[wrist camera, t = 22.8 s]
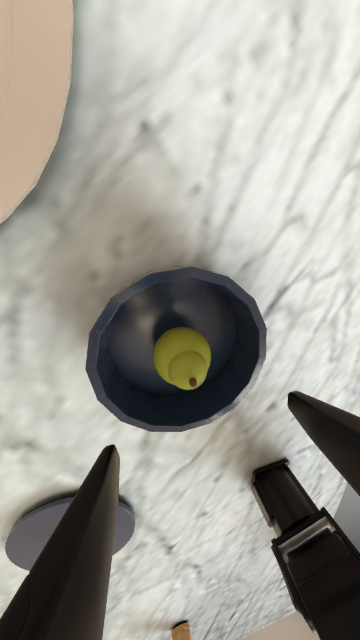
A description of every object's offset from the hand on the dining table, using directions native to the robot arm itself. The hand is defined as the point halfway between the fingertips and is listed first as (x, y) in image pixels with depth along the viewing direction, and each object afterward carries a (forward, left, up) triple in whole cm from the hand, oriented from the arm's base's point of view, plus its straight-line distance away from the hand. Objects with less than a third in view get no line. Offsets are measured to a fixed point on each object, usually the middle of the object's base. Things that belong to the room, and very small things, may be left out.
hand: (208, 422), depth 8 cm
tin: (0, 0, -10) cm, 10 cm away
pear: (0, 0, -10) cm, 10 cm away
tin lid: (+18, +25, -9) cm, 32 cm away
